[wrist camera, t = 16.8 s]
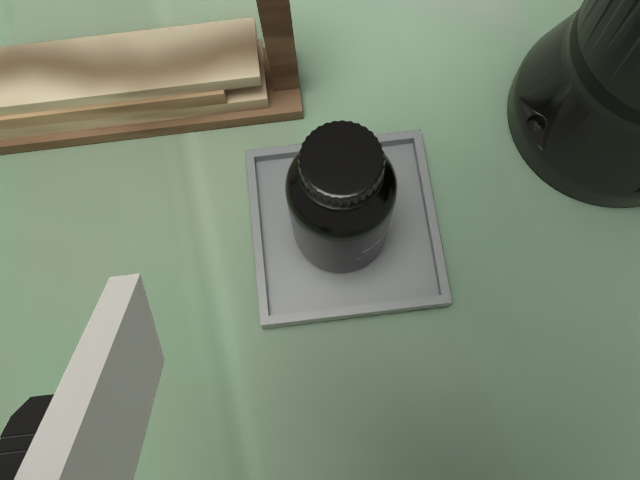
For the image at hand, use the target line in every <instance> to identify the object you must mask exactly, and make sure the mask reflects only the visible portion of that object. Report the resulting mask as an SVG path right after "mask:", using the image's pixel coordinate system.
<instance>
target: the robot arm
mask: <svg viewBox="0 0 640 480" xmlns="http://www.w3.org/2000/svg"><path fill="white" fill-rule="evenodd" d="M508 120H509V126H510V130H511V133H512V136H513V139H514V141H515V144H516V146H517V148H518V150H519V151H520V153H521V155H522V156H523V158H524V159H525V160H526V162H527V163H528V164H529V166H530V167H531V168H532V169H533V170H534V171H535V172H536V173H537V174H538V175H539V176H540V177H541V178H542V179H543V180H545V181H546V182H547V183H548V184H550V185H551V186H553V187H554V188H556V189H557V190H559V191H561V192H562V193H564V194H566V195H568V196H570V197H573V198H575V199H578V200H581V201H583V202H587V203H590V204H594V205H599V206H606V207H634V206H640V0H584V2H583V3H582V5H581V7H580V9H579V10H577V11H576V12H575V13H573V14H572V15H571V16H569V17H568V18H567V19H565V20H564V21H563V22H561V23H560V24H559V25H557V26H556V27H555V28H553V29H552V30H551V31H549V32H548V33H547V34H545V35H544V36H543V37H542V38H541V39H540V40H539V41H538V42H537V43H536V44H535V45H534V46H533V47H532V48H531V50H530V51H529V52H528V54H527V55H526V57H525V58H524V60H523V62H522V63H521V65H520V67H519V69H518V71H517V73H516V76H515V78H514V80H513V82H512V85H511V88H510V92H509V97H508ZM163 364H164V356H163V353H162V349H161V345H160V342H159V338H158V335H157V331H156V328H155V324H154V321H153V317H152V314H151V310H150V307H149V303H148V299H147V296H146V292H145V289H144V285H143V282H142V278H141V275H140V274H132V275H124V276H115V277H110V278H109V280H108V282H107V284H106V286H105V288H104V291H103V293H102V295H101V297H100V299H99V301H98V303H97V305H96V307H95V310H94V312H93V314H92V316H91V318H90V320H89V322H88V324H87V326H86V328H85V331H84V333H83V335H82V337H81V339H80V341H79V343H78V345H77V347H76V350H75V352H74V354H73V356H72V358H71V360H70V362H69V364H68V366H67V369H66V371H65V373H64V375H63V377H62V379H61V381H60V383H59V385H58V388H57V390H56V392H55V394H52V395H44V396H36V397H30V398H29V399H28V400H27V401H26V402H25V403H24V404H23V405H22V406H21V407H20V408H19V409H18V410H17V411H16V412H15V413H14V414H13V415H12V416H11V418H10V419H9V421H8V423H7V425H6V427H5V429H4V430H3V432H2V434H1V436H0V437H1V439H0V480H133V479H134V475H135V471H136V468H137V464H138V460H139V456H140V452H141V448H142V445H143V441H144V437H145V433H146V429H147V425H148V422H149V418H150V414H151V410H152V406H153V402H154V399H155V395H156V391H157V387H158V383H159V379H160V376H161V372H162V368H163Z"/></svg>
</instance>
